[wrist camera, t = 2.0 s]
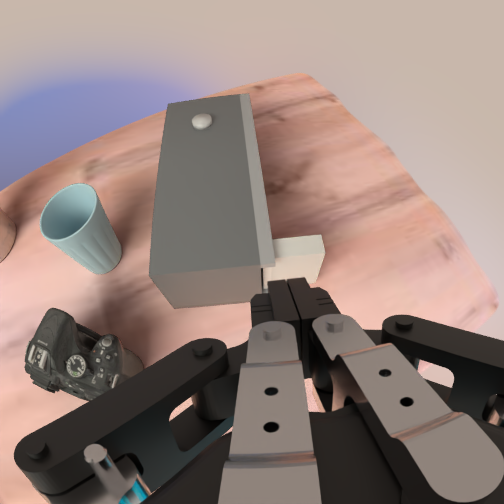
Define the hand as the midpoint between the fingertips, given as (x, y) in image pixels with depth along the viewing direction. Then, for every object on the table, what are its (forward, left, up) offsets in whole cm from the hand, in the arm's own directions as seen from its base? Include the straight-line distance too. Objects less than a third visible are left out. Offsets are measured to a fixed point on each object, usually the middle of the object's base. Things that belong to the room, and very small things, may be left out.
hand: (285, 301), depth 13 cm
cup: (-20, +16, -22) cm, 34 cm away
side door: (+3, +15, -21) cm, 26 cm away
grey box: (-5, +21, -22) cm, 31 cm away
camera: (-21, +1, -22) cm, 30 cm away
